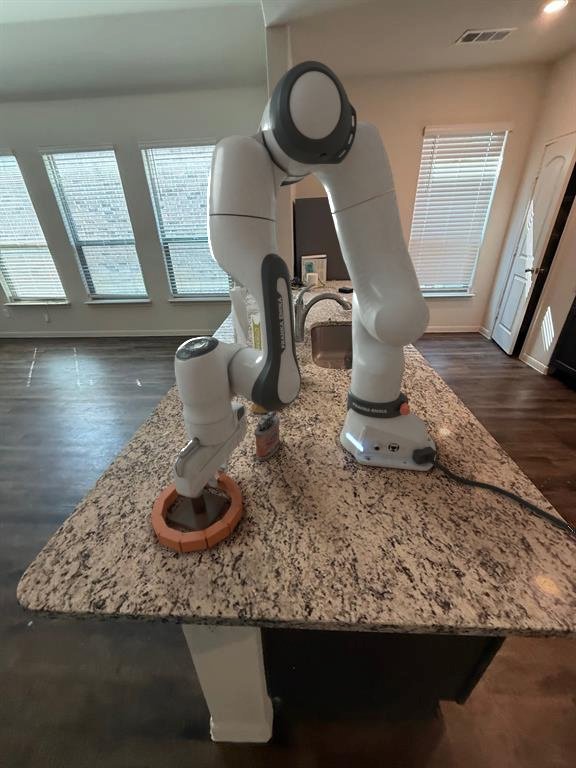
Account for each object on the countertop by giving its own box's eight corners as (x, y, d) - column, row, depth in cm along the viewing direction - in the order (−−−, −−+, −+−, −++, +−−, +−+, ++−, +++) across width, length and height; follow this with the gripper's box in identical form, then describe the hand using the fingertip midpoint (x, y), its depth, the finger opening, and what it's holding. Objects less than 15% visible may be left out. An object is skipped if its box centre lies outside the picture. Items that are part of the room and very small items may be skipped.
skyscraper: (230, 347, 138) (223, 282, 125) (247, 344, 141) (242, 280, 128) (235, 354, 131) (228, 285, 118) (253, 351, 134) (249, 283, 121)
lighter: (264, 462, 72) (262, 426, 67) (252, 457, 73) (249, 422, 69) (283, 443, 78) (282, 409, 73) (272, 439, 79) (270, 405, 75)
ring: (256, 492, 64) (255, 483, 63) (211, 564, 50) (209, 555, 49) (190, 473, 69) (188, 464, 68) (134, 533, 56) (131, 524, 55)
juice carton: (279, 358, 126) (277, 312, 117) (266, 366, 119) (264, 317, 111) (264, 355, 129) (261, 309, 121) (251, 362, 123) (247, 314, 114)
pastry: (260, 418, 88) (259, 407, 86) (247, 409, 92) (246, 397, 91) (286, 407, 93) (285, 396, 91) (272, 398, 98) (272, 387, 96)
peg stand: (228, 501, 62) (225, 483, 59) (205, 535, 55) (201, 516, 53) (194, 491, 64) (191, 472, 62) (168, 522, 58) (163, 503, 55)
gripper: (189, 464, 49) (202, 524, 55) (249, 401, 66) (254, 452, 72) (157, 455, 51) (173, 513, 57) (224, 396, 68) (230, 446, 74)
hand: (219, 479), depth 65 cm, fingers closed on ring, 2 cm apart
